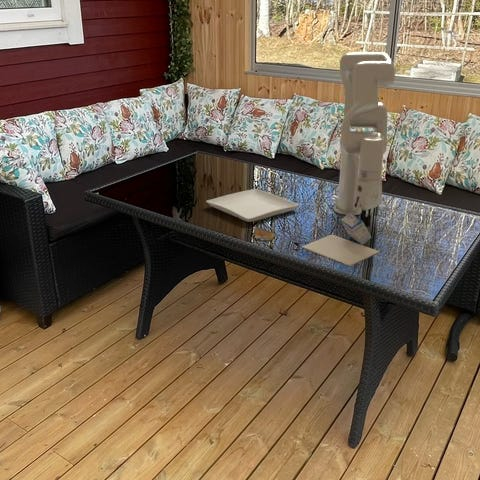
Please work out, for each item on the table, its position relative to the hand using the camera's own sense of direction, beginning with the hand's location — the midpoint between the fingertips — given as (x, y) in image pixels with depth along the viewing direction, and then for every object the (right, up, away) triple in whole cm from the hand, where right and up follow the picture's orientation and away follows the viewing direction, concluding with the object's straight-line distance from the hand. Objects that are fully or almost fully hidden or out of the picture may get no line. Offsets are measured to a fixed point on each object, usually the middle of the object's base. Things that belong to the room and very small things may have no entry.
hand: (364, 225), depth 189 cm
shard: (-36, -4, +6) cm, 37 cm away
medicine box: (-1, -4, +1) cm, 4 cm away
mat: (-10, -8, -6) cm, 14 cm away
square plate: (-38, +7, +32) cm, 50 cm away
